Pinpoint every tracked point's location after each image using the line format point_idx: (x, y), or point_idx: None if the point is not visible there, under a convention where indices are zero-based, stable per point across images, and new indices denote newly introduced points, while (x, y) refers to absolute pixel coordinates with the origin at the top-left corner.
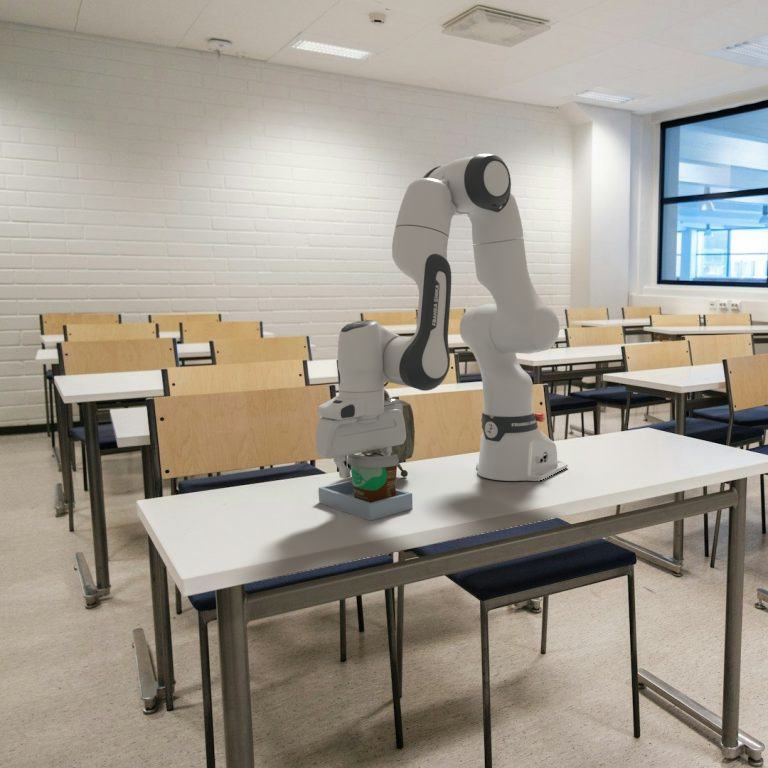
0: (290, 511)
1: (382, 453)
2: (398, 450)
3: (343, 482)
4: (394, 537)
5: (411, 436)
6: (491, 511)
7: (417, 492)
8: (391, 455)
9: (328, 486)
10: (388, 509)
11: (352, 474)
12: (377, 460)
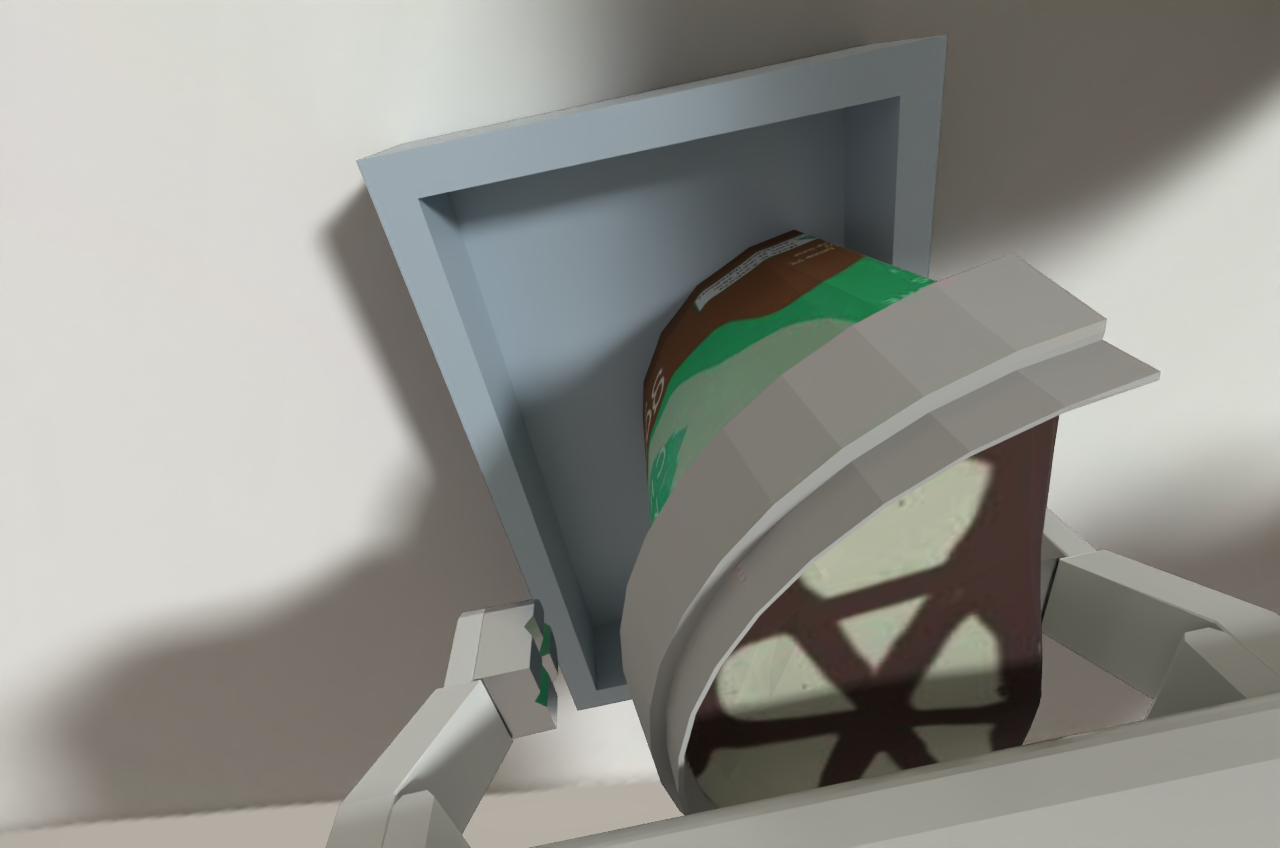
0: (101, 253)
1: (1154, 617)
2: None
3: (693, 114)
4: (571, 784)
5: None
6: (1052, 706)
7: (1144, 325)
8: None
9: (477, 179)
10: None
11: (658, 502)
12: None
